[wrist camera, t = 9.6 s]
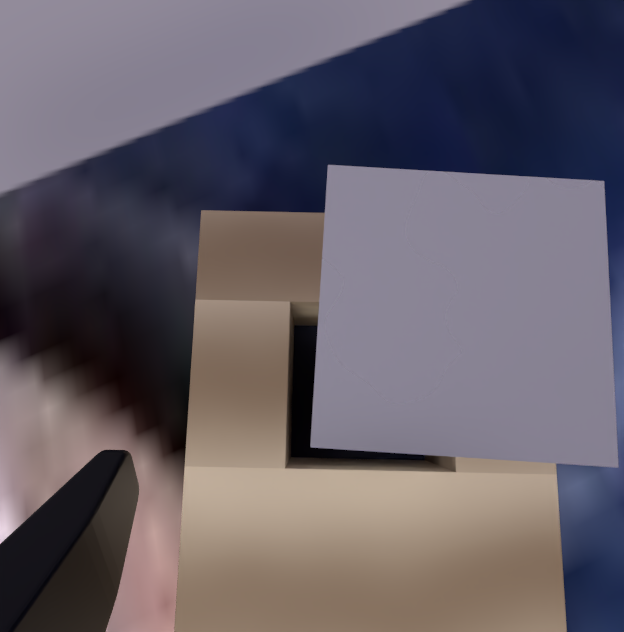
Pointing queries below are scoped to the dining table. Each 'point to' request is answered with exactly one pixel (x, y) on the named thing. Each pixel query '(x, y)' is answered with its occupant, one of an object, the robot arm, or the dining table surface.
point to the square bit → (465, 317)
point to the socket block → (334, 482)
